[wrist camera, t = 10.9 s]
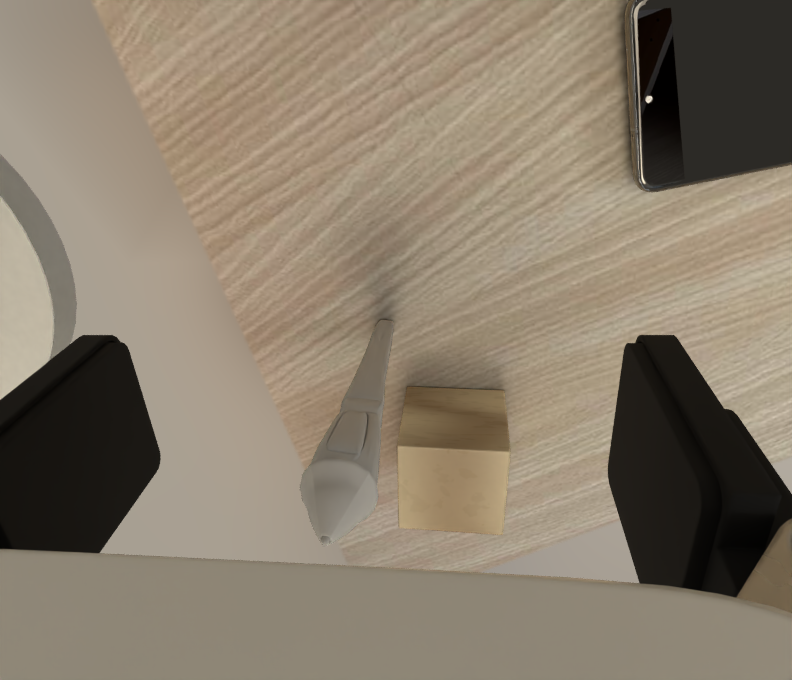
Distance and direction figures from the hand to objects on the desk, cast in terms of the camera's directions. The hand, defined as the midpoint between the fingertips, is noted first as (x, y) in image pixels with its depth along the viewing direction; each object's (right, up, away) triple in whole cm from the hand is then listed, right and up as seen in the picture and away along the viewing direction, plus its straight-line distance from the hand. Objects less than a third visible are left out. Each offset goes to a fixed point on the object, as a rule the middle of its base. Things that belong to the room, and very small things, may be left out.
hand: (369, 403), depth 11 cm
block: (+4, -3, +20) cm, 21 cm away
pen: (0, +2, +18) cm, 18 cm away
